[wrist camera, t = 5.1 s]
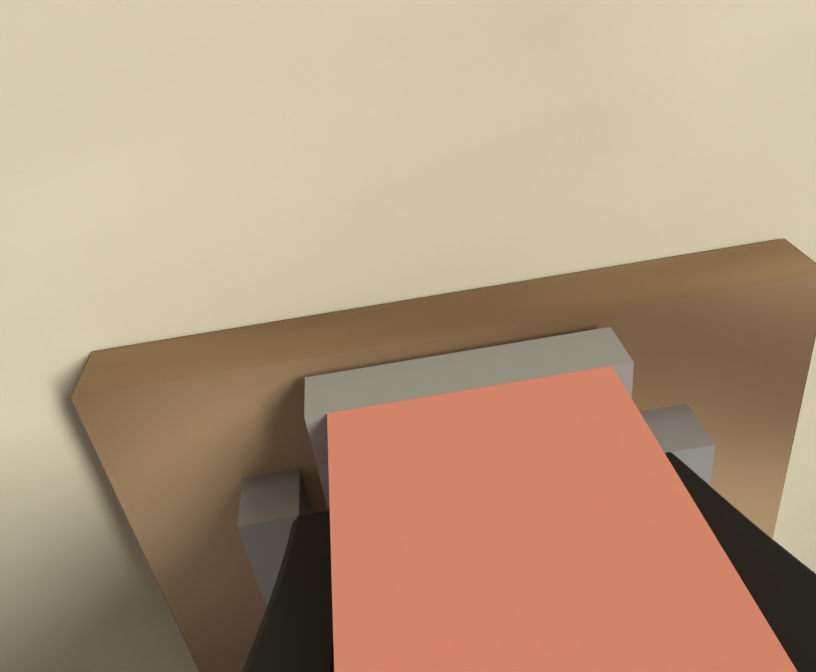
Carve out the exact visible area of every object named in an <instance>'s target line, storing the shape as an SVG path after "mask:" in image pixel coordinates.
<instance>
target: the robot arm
mask: <svg viewBox="0 0 816 672" xmlns="http://www.w3.org/2000/svg"><path fill="white" fill-rule="evenodd" d="M665 455H666V456H667V458H668V459H669V461H670V463H671V464H672V466H673V468H674V469H675V471H676V473H677V474H678V476H679V478H680V479H681V481H682V482H683V484H684V486H685V487H686V489H687V491H688V492H689V494H690V496H691V497H692V499H693V501H694V502H695V504H696V505H697V507H698V509H699V510H700V512H701V514H702V515H703V517H704V519H705V520H706V522H707V524H708V525H709V527H710V529H711V530H712V532H713V533H714V535H715V537H716V538H717V540H718V542H719V543H720V545H721V547H722V548H723V550H724V552H725V553H726V555H727V556H728V558H729V560H730V561H731V563H732V565H733V566H734V568H735V570H736V571H737V573H738V575H739V576H740V578H741V579H742V581H743V583H744V584H745V586H746V588H747V589H748V591H749V593H750V594H751V596H752V598H753V599H754V601H755V603H756V604H757V606H758V607H759V609H760V611H761V612H762V614H763V616H764V617H765V619H766V621H767V622H768V624H769V626H770V627H771V629H772V630H773V632H774V634H775V635H776V637H777V639H778V640H779V642H780V644H781V645H782V647H783V649H784V650H785V652H786V653H787V655H788V657H789V658H790V660H791V662H792V663H793V665H794V667H795V668H796V670H797V672H816V574H815V573H814V572H813V571H811V570H810V569H809V568H808V567H806V566H805V565H804V564H803V563H801V562H800V561H799V560H798V559H796V558H795V557H794V556H793V555H791V554H790V553H789V552H788V551H787V550H785V549H784V548H783V547H782V546H780V545H779V544H778V543H777V542H775V541H774V540H773V539H772V538H771V537H769V536H768V535H767V534H766V533H765V532H763V531H762V530H761V529H760V528H759V527H757V526H756V525H755V524H754V523H753V522H751V521H750V520H749V519H748V518H747V517H746V516H744V515H743V514H742V513H741V512H740V511H739V510H737V509H736V508H735V507H734V506H733V505H732V504H730V503H729V502H728V501H727V500H726V499H725V498H724V497H722V496H721V495H720V494H719V493H718V492H717V491H715V490H714V489H713V488H712V487H711V486H710V485H709V484H708V483H706V482H705V481H704V480H703V479H702V478H701V477H700V476H698V475H697V474H696V473H695V472H694V471H693V470H692V469H690V468H689V467H688V466H687V465H686V464H685V463H684V462H683V461H681V460H680V459H679V458H678V457H677V456H675V455H674V454H673V453H671V452H666V453H665ZM242 672H334V647H333V611H332V575H331V539H330V510H327V511H321V512H316V513H310V514H304V515H299V516H298V517H297V518H296V519H295V520H294V522H293V523H292V526H291V530H290V535H289V539H288V543H287V546H286V550H285V553H284V557H283V560H282V563H281V567H280V570H279V573H278V576H277V579H276V582H275V585H274V588H273V591H272V594H271V597H270V600H269V603H268V606H267V608H266V611H265V614H264V617H263V619H262V622H261V624H260V627H259V629H258V632H257V635H256V637H255V640H254V642H253V645H252V648H251V650H250V653H249V655H248V658H247V660H246V663H245V666H244V668H243V670H242Z"/></svg>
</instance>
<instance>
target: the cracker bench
mask: <svg viewBox="0 0 816 672" xmlns="http://www.w3.org/2000/svg"><path fill="white" fill-rule="evenodd" d="M607 327H611V328H612V330H613V331H614V333H615V334H616V336H617V337H618V339H619V340H620V342H621V343H622V345H623V347H624V348H625V350H626V351H627V353H628V354H629V356H630V357H631V359H632V360H633V362H634V369H633V387H632V400H633V402H634V404H635V405H636V407H637V408H638V410H639V412H640V413H641V415H642V417H643V418H644V420H645V422H646V423H647V425H648V427H649V428H650V430H651V432H652V433H653V435H654V436H655V438H656V440H657V441H658V443H659V445H660V446H661V448H662V450H663V451H664V453H666V452H671V453H673V454H674V455H675V456H677V457H678V458H679V459H680V460H681V461H683V462H684V463H685V464H686V465H687V466H688V467H689V468H690V469H692V470H693V471H694V472H695V473H696V474H697V475H698V476H700V477H701V478H702V479H703V480H704V481H705V482H706V483H708V484H709V485H710V486H711V487H712V488H713V489H714V490H715V491H717V492H718V493H719V494H720V495H721V496H722V497H724V498H725V499H726V500H727V501H728V502H729V503H730V504H732V505H733V506H734V507H735V508H736V509H737V510H739V511H740V512H741V513H742V514H743V515H744V516H746V517H747V518H748V519H749V520H750V521H751V522H753V523H754V524H755V525H756V526H757V527H759V528H760V529H761V530H762V531H763V532H765V533H766V534H767V535H768V536H769V537H771V538H772V539H773V534H774V529H775V525H776V520H777V515H778V511H779V506H780V501H781V497H782V492H783V487H784V483H785V478H786V473H787V469H788V464H789V459H790V454H791V450H792V445H793V440H794V436H795V431H796V426H797V422H798V417H799V412H800V408H801V403H802V398H803V394H804V389H805V384H806V380H807V375H808V370H809V366H810V361H811V356H812V352H813V347H814V342H815V338H816V263H815V262H814V261H813V260H812V259H810V258H809V257H808V256H806V255H805V254H804V253H803V252H801V251H800V250H799V249H797V248H796V247H795V246H793V245H792V244H791V243H790V242H788V241H787V240H786V239H778V240H772V241H766V242H760V243H754V244H748V245H742V246H736V247H729V248H723V249H717V250H711V251H705V252H699V253H693V254H687V255H680V256H674V257H668V258H662V259H656V260H650V261H644V262H638V263H631V264H625V265H619V266H613V267H607V268H601V269H595V270H589V271H582V272H576V273H570V274H564V275H558V276H552V277H546V278H540V279H534V280H527V281H521V282H515V283H509V284H503V285H497V286H491V287H485V288H478V289H472V290H466V291H460V292H454V293H448V294H442V295H436V296H429V297H423V298H417V299H411V300H405V301H399V302H393V303H387V304H381V305H374V306H368V307H362V308H356V309H350V310H344V311H338V312H332V313H325V314H319V315H313V316H307V317H301V318H295V319H289V320H283V321H276V322H270V323H264V324H258V325H252V326H246V327H240V328H234V329H228V330H221V331H215V332H209V333H203V334H197V335H191V336H185V337H179V338H172V339H166V340H160V341H154V342H148V343H142V344H136V345H130V346H123V347H117V348H111V349H105V350H99V351H93V352H92V353H91V355H90V357H89V359H88V362H87V364H86V366H85V368H84V370H83V372H82V375H81V377H80V379H79V381H78V383H77V385H76V388H75V390H74V392H73V394H72V396H71V400H72V402H73V405H74V407H75V409H76V411H77V413H78V415H79V417H80V419H81V421H82V424H83V426H84V428H85V430H86V432H87V434H88V436H89V438H90V441H91V443H92V445H93V447H94V449H95V451H96V453H97V455H98V457H99V460H100V462H101V464H102V466H103V468H104V470H105V472H106V474H107V477H108V479H109V481H110V483H111V485H112V487H113V489H114V491H115V493H116V496H117V498H118V500H119V502H120V504H121V506H122V508H123V510H124V513H125V515H126V517H127V519H128V521H129V523H130V525H131V527H132V530H133V532H134V534H135V536H136V538H137V540H138V542H139V544H140V546H141V549H142V551H143V553H144V555H145V557H146V559H147V561H148V563H149V566H150V568H151V570H152V572H153V574H154V576H155V578H156V580H157V582H158V585H159V587H160V589H161V591H162V593H163V595H164V597H165V599H166V602H167V604H168V606H169V608H170V610H171V612H172V614H173V616H174V618H175V621H176V623H177V625H178V627H179V629H180V631H181V633H182V635H183V638H184V640H185V642H186V644H187V646H188V648H189V650H190V652H191V654H192V657H193V659H194V661H195V663H196V665H197V667H198V669H199V671H200V672H242V670H243V668H244V666H245V663H246V660H247V658H248V655H249V653H250V650H251V648H252V645H253V642H254V640H255V637H256V635H257V632H258V629H259V627H260V624H261V622H262V619H263V617H264V614H265V611H266V608H267V606H268V603H269V600H270V597H271V594H272V591H273V588H274V585H275V582H276V579H277V576H278V573H279V570H280V567H281V563H282V560H283V557H284V553H285V550H286V546H287V543H288V539H289V535H290V530H291V526H292V523H293V522H294V520H295V519H296V518H297V517H298V516H299V515H304V514H310V513H316V512H321V511H327V510H328V507H327V504H326V500H325V496H324V492H323V488H322V484H321V480H320V476H319V472H318V469H317V465H316V461H315V457H314V453H313V449H312V445H311V441H310V438H309V434H308V430H307V426H306V422H305V418H304V402H305V377H311V376H317V375H323V374H329V373H335V372H341V371H347V370H353V369H359V368H365V367H371V366H377V365H383V364H389V363H395V362H401V361H407V360H413V359H419V358H425V357H432V356H438V355H444V354H450V353H456V352H462V351H468V350H474V349H480V348H486V347H492V346H498V345H504V344H510V343H516V342H522V341H528V340H534V339H540V338H546V337H552V336H558V335H564V334H570V333H576V332H582V331H589V330H595V329H601V328H607Z"/></svg>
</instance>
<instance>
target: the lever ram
mask: <svg viewBox="0 0 816 672" xmlns="http://www.w3.org/2000/svg"><path fill="white" fill-rule="evenodd" d="M633 369H634V362H633V360H632V359H631V357H630V356H629V354H628V353H627V351H626V350H625V348H624V347H623V345H622V343H621V342H620V340H619V339H618V337H617V336H616V334H615V333H614V331H613V330H612V328H611V327H607V328H601V329H595V330H589V331H582V332H576V333H570V334H564V335H558V336H552V337H546V338H540V339H534V340H528V341H522V342H516V343H510V344H504V345H498V346H492V347H486V348H480V349H474V350H468V351H462V352H456V353H450V354H444V355H438V356H432V357H425V358H419V359H413V360H407V361H401V362H395V363H389V364H383V365H377V366H371V367H365V368H359V369H353V370H347V371H341V372H335V373H329V374H323V375H317V376H311V377H305V402H304V418H305V422H306V426H307V430H308V434H309V438H310V441H311V445H312V449H313V453H314V457H315V461H316V465H317V469H318V472H319V476H320V480H321V484H322V488H323V492H324V496H325V500H326V504H327V507H328V510H330V539H331V575H332V611H333V647H334V672H797V670H796V668H795V667H794V665H793V663H792V662H791V660H790V658H789V657H788V655H787V653H786V652H785V650H784V649H783V647H782V645H781V644H780V642H779V640H778V639H777V637H776V635H775V634H774V632H773V630H772V629H771V627H770V626H769V624H768V622H767V621H766V619H765V617H764V616H763V614H762V612H761V611H760V609H759V607H758V606H757V604H756V603H755V601H754V599H753V598H752V596H751V594H750V593H749V591H748V589H747V588H746V586H745V584H744V583H743V581H742V579H741V578H740V576H739V575H738V573H737V571H736V570H735V568H734V566H733V565H732V563H731V561H730V560H729V558H728V556H727V555H726V553H725V552H724V550H723V548H722V547H721V545H720V543H719V542H718V540H717V538H716V537H715V535H714V533H713V532H712V530H711V529H710V527H709V525H708V524H707V522H706V520H705V519H704V517H703V515H702V514H701V512H700V510H699V509H698V507H697V505H696V504H695V502H694V501H693V499H692V497H691V496H690V494H689V492H688V491H687V489H686V487H685V486H684V484H683V482H682V481H681V479H680V478H679V476H678V474H677V473H676V471H675V469H674V468H673V466H672V464H671V463H670V461H669V459H668V458H667V456H666V455H665V453H664V451H663V450H662V448H661V446H660V445H659V443H658V441H657V440H656V438H655V436H654V435H653V433H652V432H651V430H650V428H649V427H648V425H647V423H646V422H645V420H644V418H643V417H642V415H641V413H640V412H639V410H638V408H637V407H636V405H635V404H634V402H633V400H632V387H633Z"/></svg>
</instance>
